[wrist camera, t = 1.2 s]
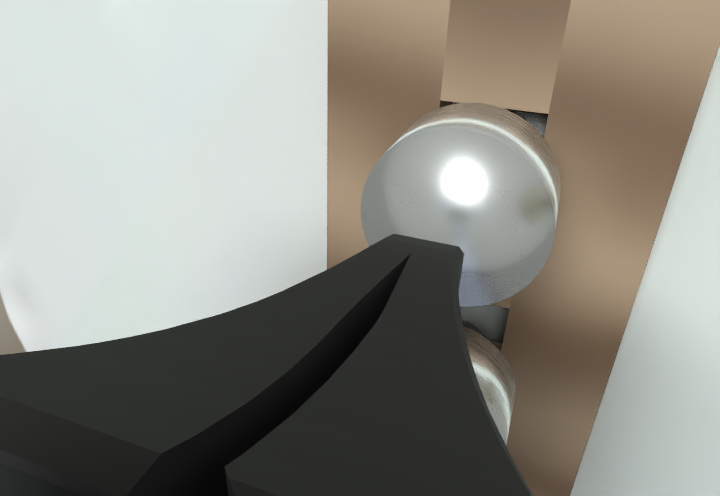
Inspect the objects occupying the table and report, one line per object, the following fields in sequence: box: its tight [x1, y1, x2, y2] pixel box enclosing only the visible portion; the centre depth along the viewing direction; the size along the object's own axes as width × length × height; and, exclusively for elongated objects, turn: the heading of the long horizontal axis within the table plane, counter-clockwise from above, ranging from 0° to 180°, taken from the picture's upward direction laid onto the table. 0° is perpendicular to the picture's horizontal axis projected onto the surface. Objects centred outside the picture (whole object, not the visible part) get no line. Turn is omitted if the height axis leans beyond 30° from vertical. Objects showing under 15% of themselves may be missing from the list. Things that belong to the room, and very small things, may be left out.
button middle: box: [462, 320, 516, 445], centre depth 18 cm, size 4×4×4 cm
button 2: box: [361, 103, 561, 307], centre depth 14 cm, size 4×4×4 cm
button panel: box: [327, 0, 720, 496], centre depth 21 cm, size 26×10×2 cm, turn 178°
